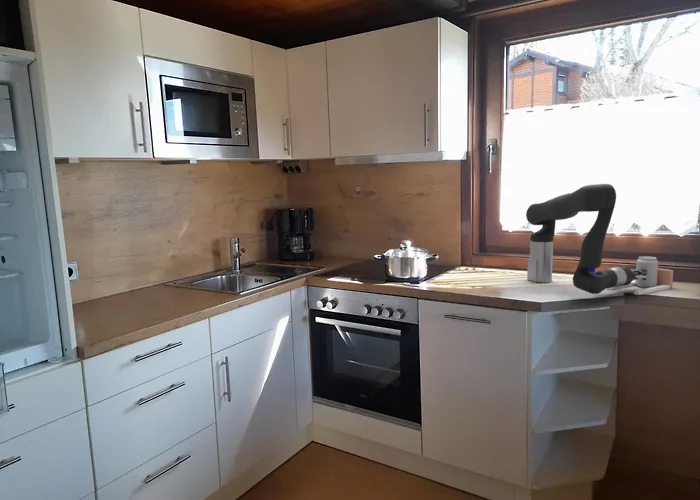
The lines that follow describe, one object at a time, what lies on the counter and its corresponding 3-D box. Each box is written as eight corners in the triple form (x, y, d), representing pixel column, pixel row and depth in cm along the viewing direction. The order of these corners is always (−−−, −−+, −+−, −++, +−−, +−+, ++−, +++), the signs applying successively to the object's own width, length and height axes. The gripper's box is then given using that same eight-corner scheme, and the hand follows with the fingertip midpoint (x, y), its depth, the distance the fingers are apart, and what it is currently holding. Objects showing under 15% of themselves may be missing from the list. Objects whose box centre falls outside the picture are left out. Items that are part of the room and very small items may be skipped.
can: (641, 288, 205) (643, 258, 204) (631, 284, 213) (633, 255, 211) (660, 288, 205) (662, 258, 203) (650, 284, 212) (651, 255, 211)
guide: (639, 295, 195) (640, 276, 194) (607, 288, 206) (608, 271, 205) (672, 287, 206) (673, 270, 205) (640, 282, 217) (641, 265, 216)
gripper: (633, 269, 191) (661, 264, 199) (601, 264, 202) (629, 260, 210) (632, 289, 192) (660, 284, 200) (600, 283, 203) (628, 278, 211)
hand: (644, 271), depth 205 cm, fingers closed
